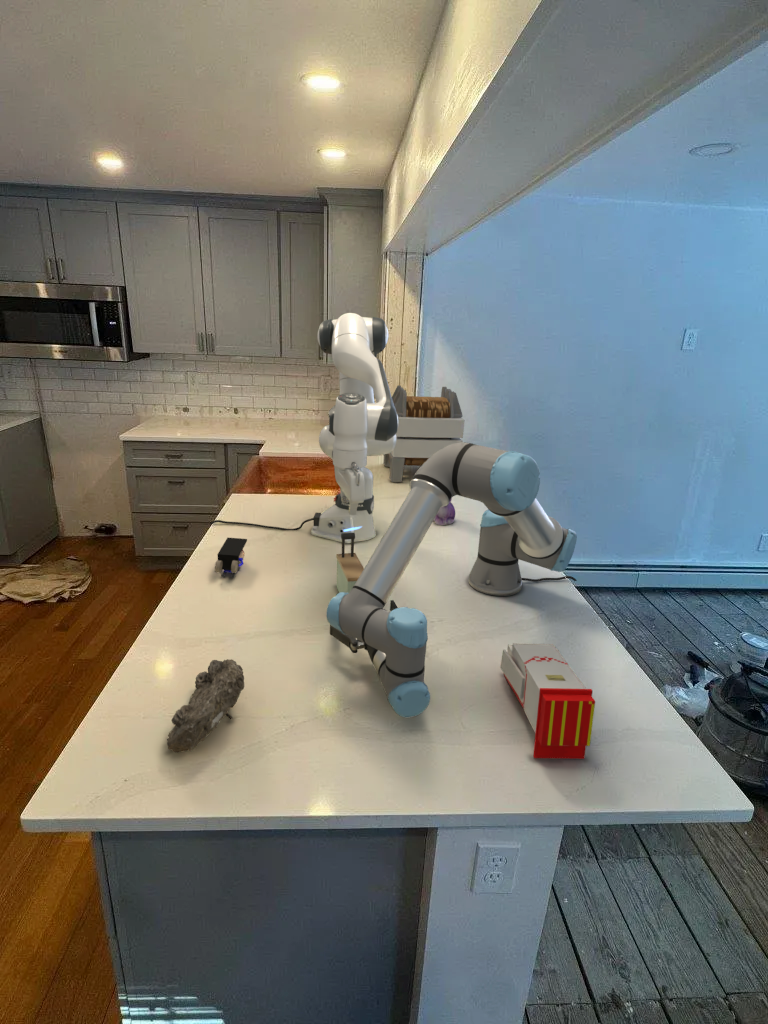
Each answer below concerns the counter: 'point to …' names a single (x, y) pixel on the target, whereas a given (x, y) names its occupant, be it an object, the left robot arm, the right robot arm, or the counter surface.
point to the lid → (349, 559)
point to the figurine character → (230, 556)
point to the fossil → (206, 705)
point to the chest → (343, 581)
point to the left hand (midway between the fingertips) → (348, 508)
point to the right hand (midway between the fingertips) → (364, 607)
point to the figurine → (445, 515)
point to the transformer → (423, 429)
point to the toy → (550, 699)
